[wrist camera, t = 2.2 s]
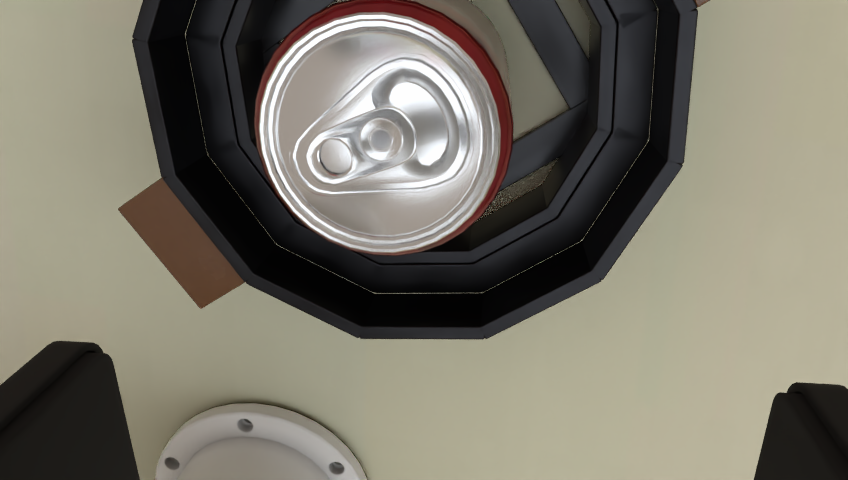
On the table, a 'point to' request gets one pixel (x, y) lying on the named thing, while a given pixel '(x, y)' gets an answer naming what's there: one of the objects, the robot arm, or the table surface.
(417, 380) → the table surface
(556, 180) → the wok
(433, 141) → the soda can
